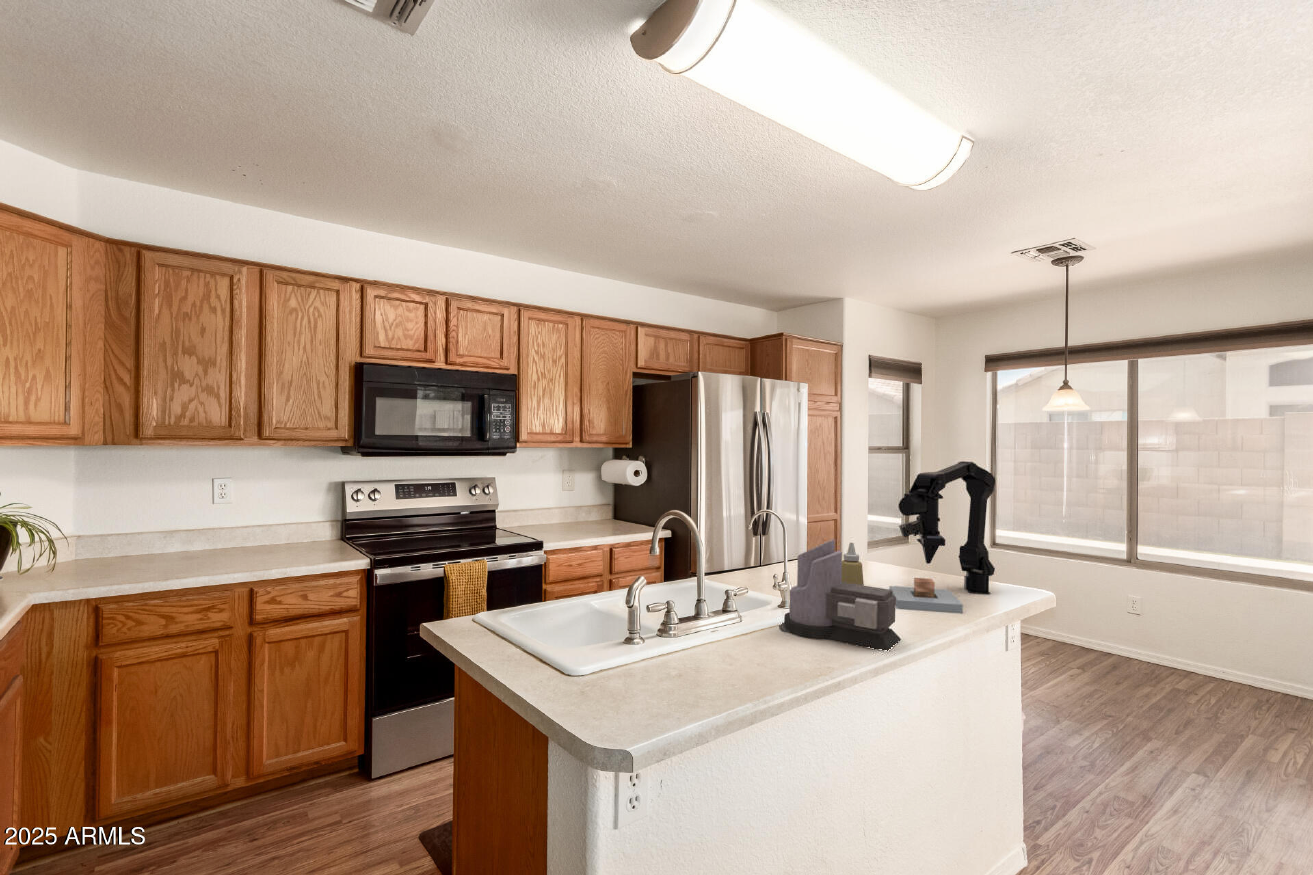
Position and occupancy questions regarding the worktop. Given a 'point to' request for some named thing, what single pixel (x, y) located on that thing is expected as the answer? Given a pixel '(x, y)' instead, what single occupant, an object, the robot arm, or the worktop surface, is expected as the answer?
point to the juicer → (838, 604)
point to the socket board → (926, 600)
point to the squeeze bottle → (852, 567)
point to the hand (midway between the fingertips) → (928, 563)
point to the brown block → (924, 587)
